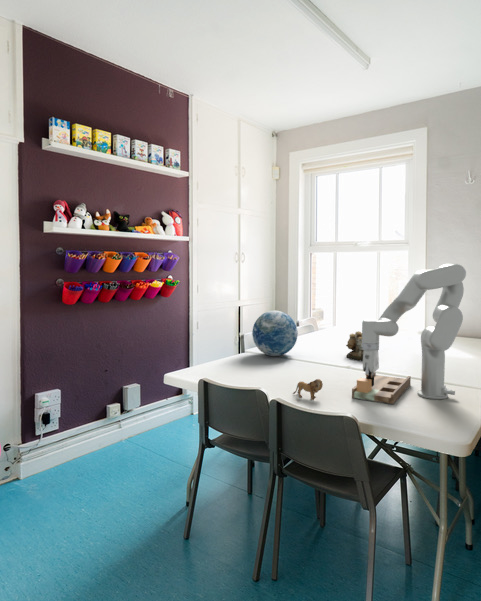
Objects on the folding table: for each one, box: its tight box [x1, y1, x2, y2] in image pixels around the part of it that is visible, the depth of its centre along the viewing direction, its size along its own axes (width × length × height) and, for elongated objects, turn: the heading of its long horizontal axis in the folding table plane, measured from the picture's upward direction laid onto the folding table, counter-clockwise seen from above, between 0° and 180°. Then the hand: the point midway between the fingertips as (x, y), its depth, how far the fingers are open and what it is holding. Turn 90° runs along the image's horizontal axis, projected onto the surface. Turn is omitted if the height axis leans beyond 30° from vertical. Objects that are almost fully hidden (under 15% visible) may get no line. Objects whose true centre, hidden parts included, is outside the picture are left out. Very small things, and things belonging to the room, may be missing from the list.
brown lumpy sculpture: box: [345, 331, 364, 361], centre depth 276 cm, size 18×12×17 cm, turn 30°
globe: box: [251, 310, 299, 357], centre depth 286 cm, size 30×30×30 cm
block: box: [356, 377, 372, 393], centre depth 197 cm, size 5×5×5 cm
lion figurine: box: [292, 378, 324, 401], centre depth 199 cm, size 15×5×9 cm, turn 58°
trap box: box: [351, 371, 411, 406], centre depth 205 cm, size 18×34×4 cm, turn 147°
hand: (370, 385), depth 200 cm, fingers closed
